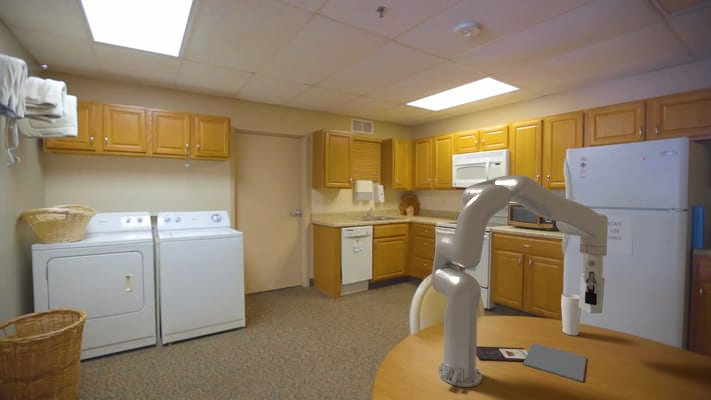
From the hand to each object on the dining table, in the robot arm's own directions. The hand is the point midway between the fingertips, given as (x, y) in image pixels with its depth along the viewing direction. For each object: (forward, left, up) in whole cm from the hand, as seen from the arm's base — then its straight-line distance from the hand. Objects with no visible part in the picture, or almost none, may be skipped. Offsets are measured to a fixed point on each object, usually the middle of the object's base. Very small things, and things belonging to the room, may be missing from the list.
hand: (591, 300), depth 113 cm
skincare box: (0, 0, -4) cm, 4 cm away
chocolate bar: (-19, +24, -19) cm, 36 cm away
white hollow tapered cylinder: (+16, +7, -19) cm, 26 cm away
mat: (-13, +9, -19) cm, 24 cm away
